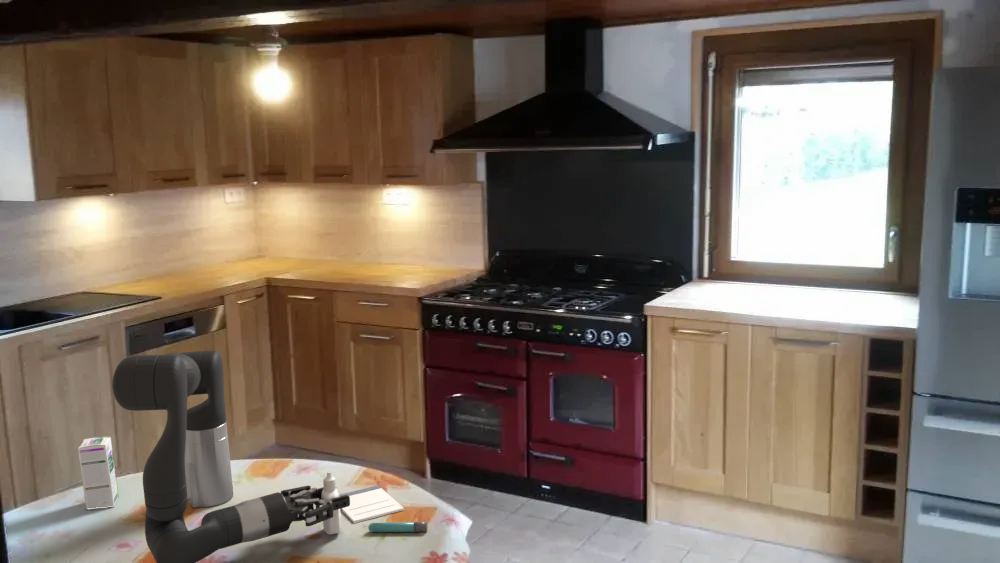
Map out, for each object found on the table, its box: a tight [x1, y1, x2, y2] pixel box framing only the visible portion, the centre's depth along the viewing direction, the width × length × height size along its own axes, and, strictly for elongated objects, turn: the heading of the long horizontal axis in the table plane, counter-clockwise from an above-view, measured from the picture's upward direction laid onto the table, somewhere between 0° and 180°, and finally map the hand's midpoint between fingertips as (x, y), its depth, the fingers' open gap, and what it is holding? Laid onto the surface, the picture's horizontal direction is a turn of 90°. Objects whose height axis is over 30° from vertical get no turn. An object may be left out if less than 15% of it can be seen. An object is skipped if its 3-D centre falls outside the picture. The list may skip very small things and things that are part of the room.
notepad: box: [339, 484, 405, 524], centre depth 189 cm, size 11×14×1 cm
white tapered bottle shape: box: [321, 470, 342, 535], centre depth 176 cm, size 4×6×12 cm
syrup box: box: [77, 436, 120, 509], centre depth 193 cm, size 6×6×14 cm
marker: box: [367, 521, 428, 533], centre depth 176 cm, size 12×2×2 cm, turn 87°
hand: (341, 494), depth 177 cm, fingers closed on white tapered bottle shape, 5 cm apart
